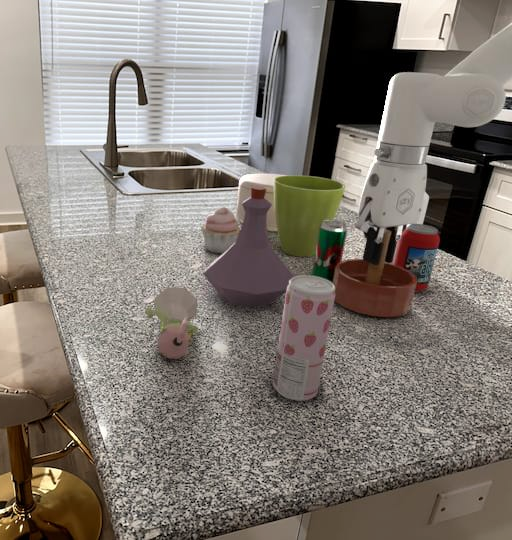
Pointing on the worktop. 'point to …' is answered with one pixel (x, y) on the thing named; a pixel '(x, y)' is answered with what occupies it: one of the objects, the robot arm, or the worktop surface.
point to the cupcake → (220, 231)
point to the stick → (376, 270)
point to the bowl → (374, 289)
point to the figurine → (174, 320)
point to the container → (268, 183)
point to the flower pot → (304, 210)
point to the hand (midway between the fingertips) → (377, 260)
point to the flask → (250, 261)
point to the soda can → (329, 248)
